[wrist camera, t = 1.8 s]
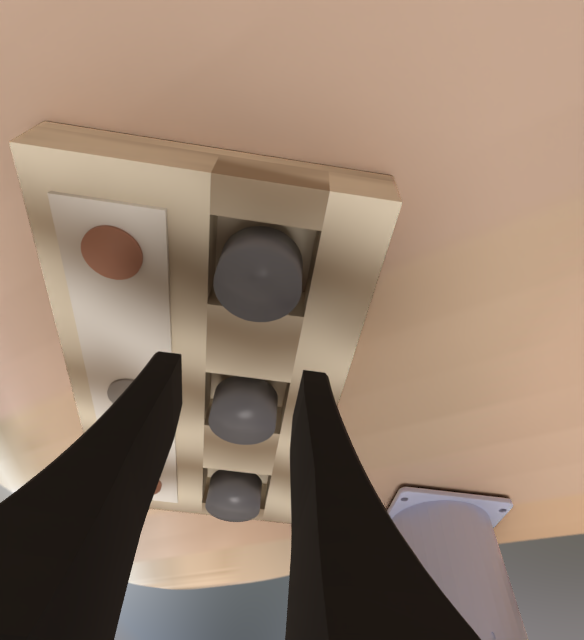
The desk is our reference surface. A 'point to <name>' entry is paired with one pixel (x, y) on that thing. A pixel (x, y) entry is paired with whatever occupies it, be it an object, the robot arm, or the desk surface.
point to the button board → (197, 281)
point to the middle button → (243, 410)
